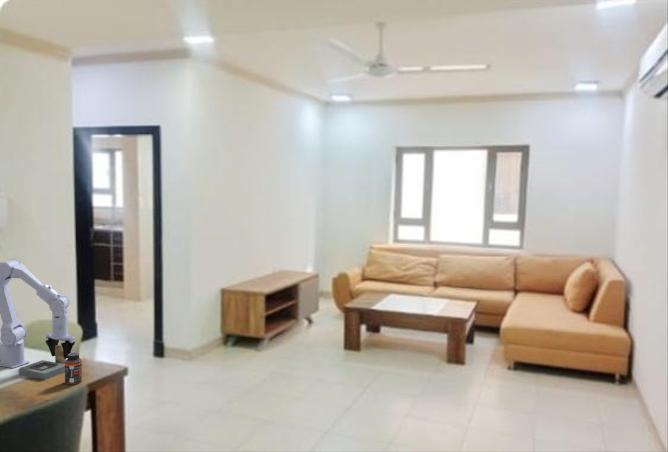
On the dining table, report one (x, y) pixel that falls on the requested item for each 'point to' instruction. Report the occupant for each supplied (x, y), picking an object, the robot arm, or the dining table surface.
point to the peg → (59, 354)
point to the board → (42, 370)
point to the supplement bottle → (73, 369)
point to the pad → (43, 366)
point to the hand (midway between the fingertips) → (60, 356)
